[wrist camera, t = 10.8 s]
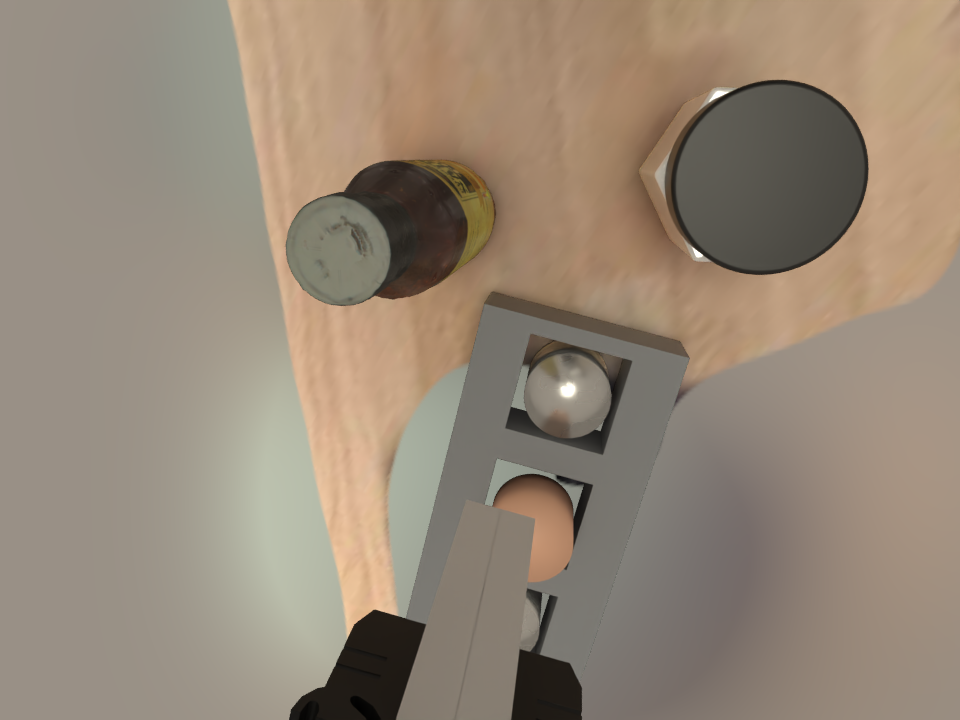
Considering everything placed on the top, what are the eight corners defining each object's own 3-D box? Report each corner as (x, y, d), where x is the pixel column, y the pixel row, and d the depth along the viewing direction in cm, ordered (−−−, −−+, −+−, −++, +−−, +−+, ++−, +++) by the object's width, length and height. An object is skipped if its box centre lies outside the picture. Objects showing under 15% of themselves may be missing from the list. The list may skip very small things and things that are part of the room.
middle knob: (503, 464, 46) (497, 492, 42) (583, 486, 45) (583, 516, 41) (484, 535, 47) (476, 568, 43) (561, 556, 47) (560, 592, 43)
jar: (727, 278, 44) (780, 319, 33) (613, 202, 44) (627, 218, 33) (826, 146, 42) (921, 141, 30) (707, 64, 42) (758, 29, 30)
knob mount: (491, 291, 46) (484, 303, 43) (680, 341, 46) (689, 358, 42) (411, 612, 53) (398, 648, 49) (574, 660, 53) (574, 699, 49)
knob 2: (539, 330, 46) (536, 345, 42) (618, 351, 46) (622, 368, 42) (519, 403, 48) (514, 425, 44) (595, 424, 47) (597, 448, 44)
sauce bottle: (502, 164, 44) (447, 169, 25) (493, 268, 46) (435, 346, 27) (394, 155, 45) (262, 153, 26) (389, 258, 47) (261, 327, 28)
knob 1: (479, 551, 51) (471, 583, 47) (550, 571, 50) (548, 605, 47) (462, 612, 52) (453, 648, 48) (531, 632, 52) (527, 670, 48)
